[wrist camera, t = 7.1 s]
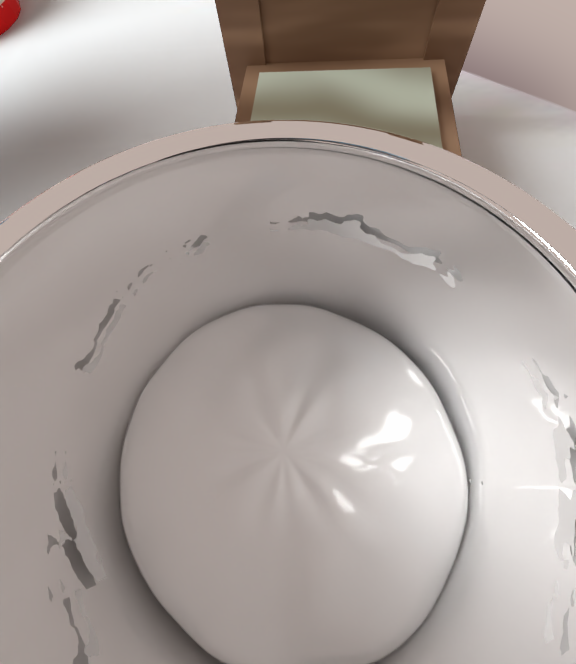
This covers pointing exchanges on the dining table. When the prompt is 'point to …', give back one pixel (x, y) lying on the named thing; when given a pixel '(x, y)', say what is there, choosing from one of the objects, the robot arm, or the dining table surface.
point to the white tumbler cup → (287, 407)
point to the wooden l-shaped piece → (351, 62)
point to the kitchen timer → (8, 14)
